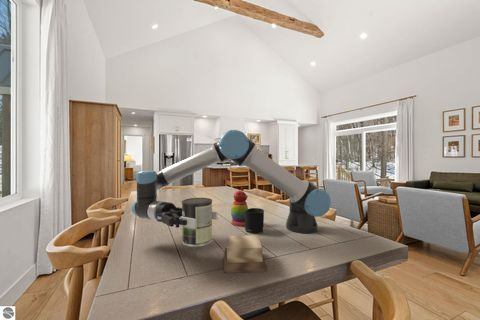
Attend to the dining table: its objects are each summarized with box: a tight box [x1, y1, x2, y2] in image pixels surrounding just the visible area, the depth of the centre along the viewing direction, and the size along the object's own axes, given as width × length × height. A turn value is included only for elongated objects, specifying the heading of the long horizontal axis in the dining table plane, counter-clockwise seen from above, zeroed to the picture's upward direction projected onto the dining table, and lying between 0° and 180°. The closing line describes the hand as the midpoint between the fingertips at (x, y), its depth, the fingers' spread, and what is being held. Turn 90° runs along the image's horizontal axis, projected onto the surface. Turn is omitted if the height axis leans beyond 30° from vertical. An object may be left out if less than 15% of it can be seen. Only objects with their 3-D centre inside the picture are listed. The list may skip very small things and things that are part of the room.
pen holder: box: [244, 207, 265, 235], centre depth 105 cm, size 9×9×10 cm
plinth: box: [223, 234, 267, 274], centre depth 73 cm, size 13×13×7 cm
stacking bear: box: [230, 189, 249, 228], centre depth 117 cm, size 11×10×18 cm
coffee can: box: [181, 197, 213, 248], centre depth 75 cm, size 10×10×14 cm
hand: (206, 219), depth 72 cm, fingers closed on coffee can, 10 cm apart
